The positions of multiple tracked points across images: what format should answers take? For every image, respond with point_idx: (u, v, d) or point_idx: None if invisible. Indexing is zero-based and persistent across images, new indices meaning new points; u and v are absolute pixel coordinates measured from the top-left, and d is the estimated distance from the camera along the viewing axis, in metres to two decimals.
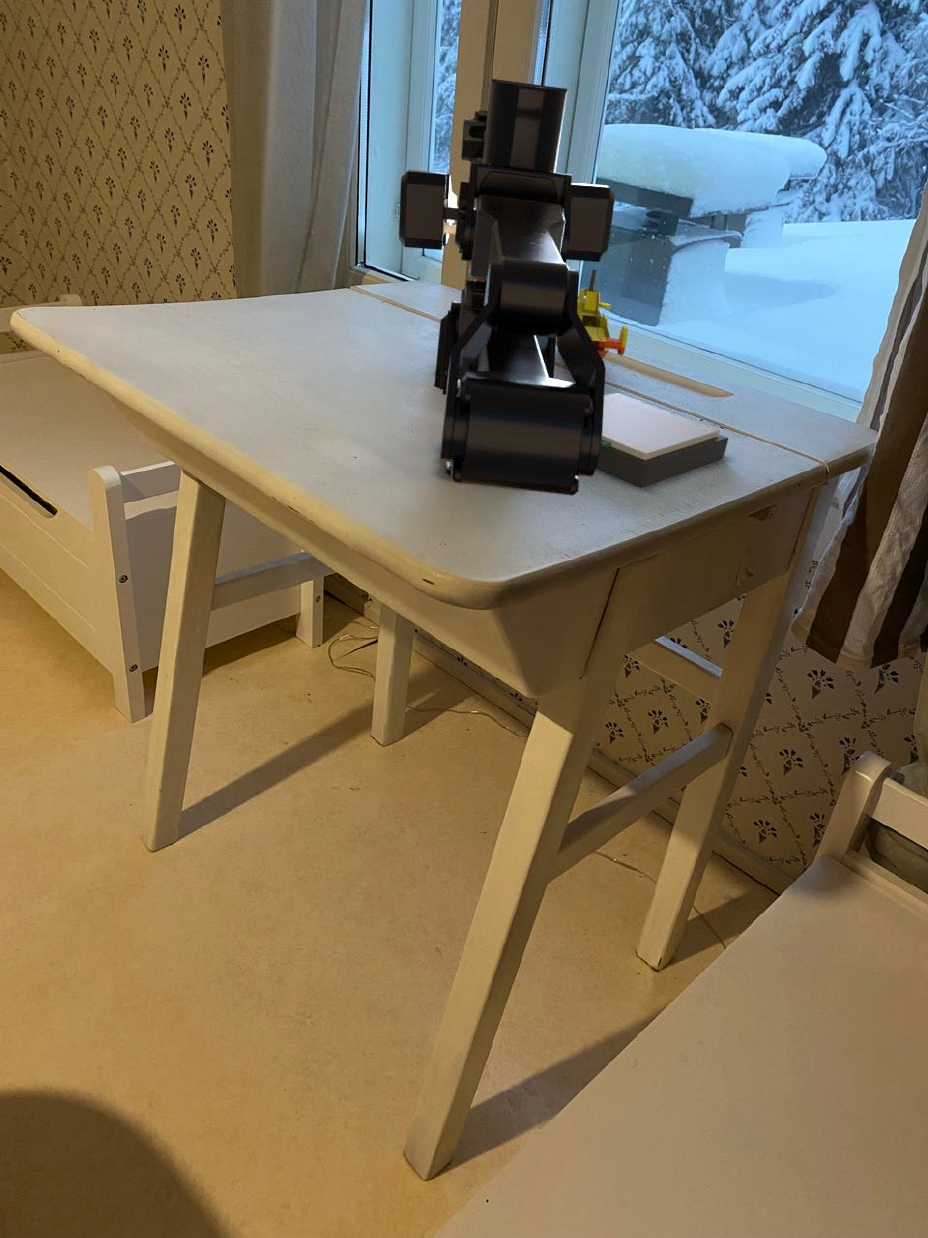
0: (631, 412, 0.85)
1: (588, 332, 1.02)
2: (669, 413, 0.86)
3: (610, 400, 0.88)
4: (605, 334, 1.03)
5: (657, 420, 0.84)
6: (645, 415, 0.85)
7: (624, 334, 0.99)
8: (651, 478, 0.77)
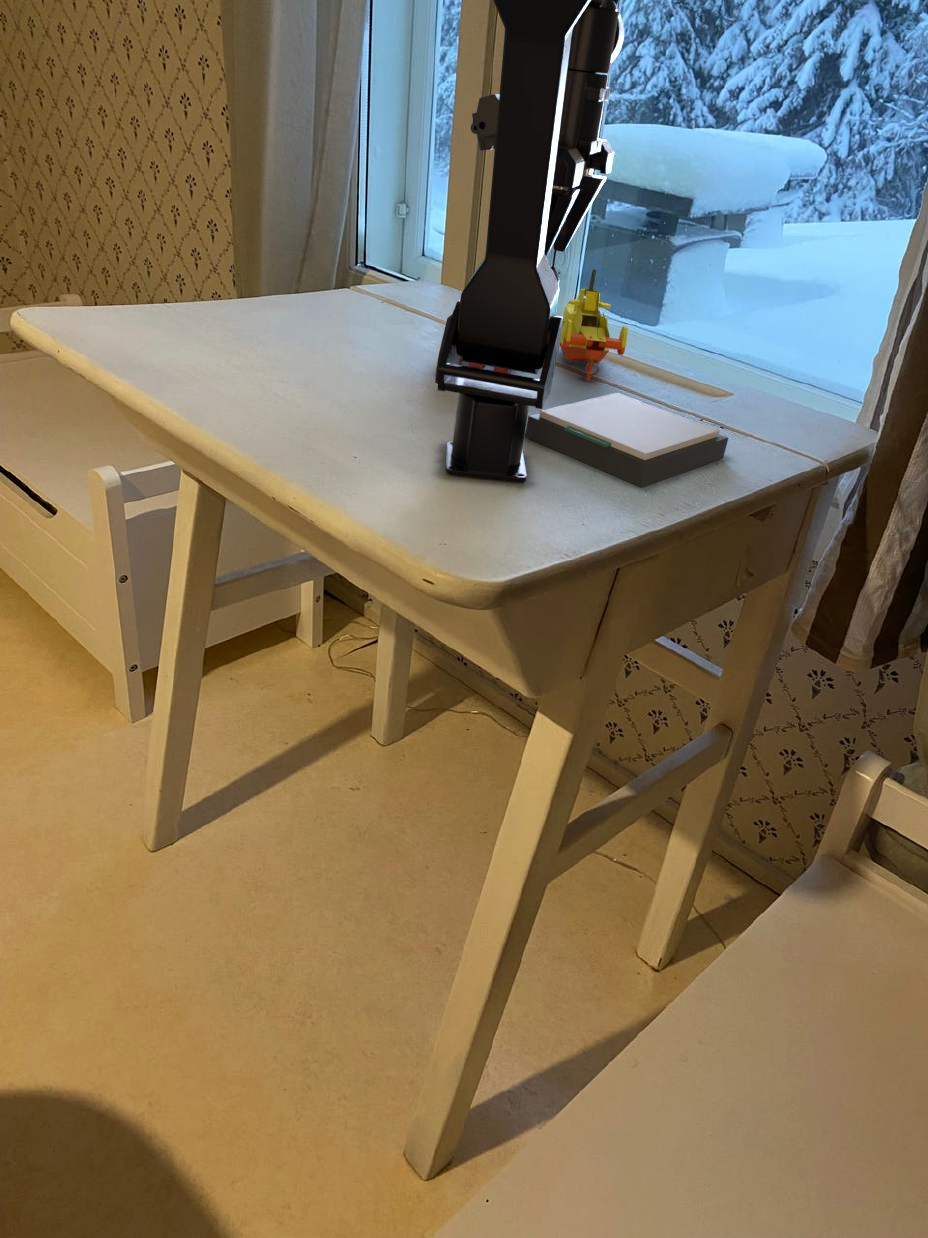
0: (631, 412, 0.85)
1: (588, 332, 1.02)
2: (669, 413, 0.86)
3: (610, 400, 0.88)
4: (605, 334, 1.03)
5: (657, 420, 0.84)
6: (645, 415, 0.85)
7: (624, 334, 0.99)
8: (651, 478, 0.77)
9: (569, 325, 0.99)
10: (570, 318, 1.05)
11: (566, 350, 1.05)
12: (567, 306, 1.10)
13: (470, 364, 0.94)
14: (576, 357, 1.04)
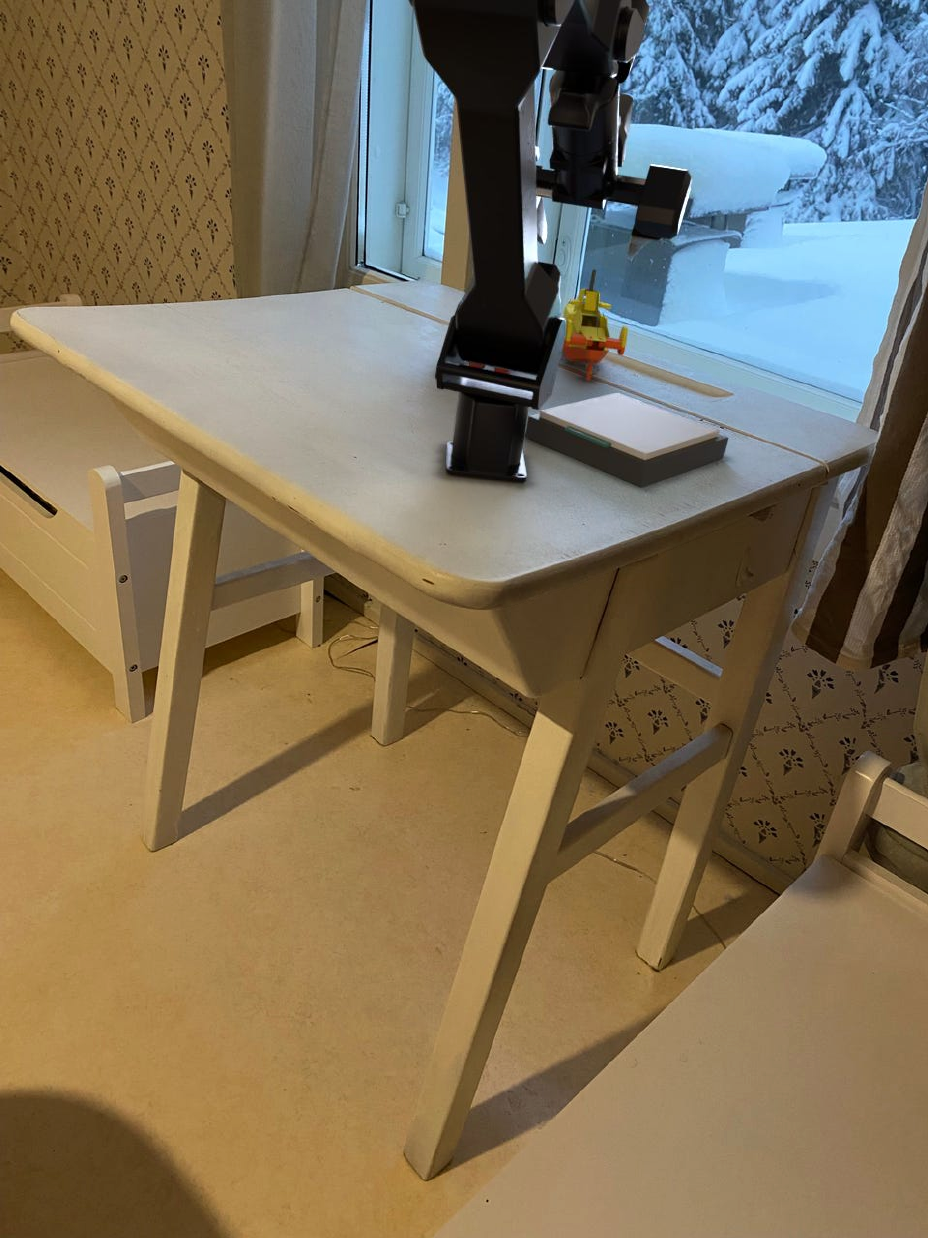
0: (631, 412, 0.85)
1: (588, 332, 1.02)
2: (669, 413, 0.86)
3: (610, 400, 0.88)
4: (605, 334, 1.03)
5: (657, 420, 0.84)
6: (645, 415, 0.85)
7: (624, 334, 0.99)
8: (651, 478, 0.77)
9: (569, 325, 0.99)
10: (570, 318, 1.05)
11: (566, 350, 1.05)
12: (567, 306, 1.10)
13: (470, 364, 0.94)
14: (576, 357, 1.04)
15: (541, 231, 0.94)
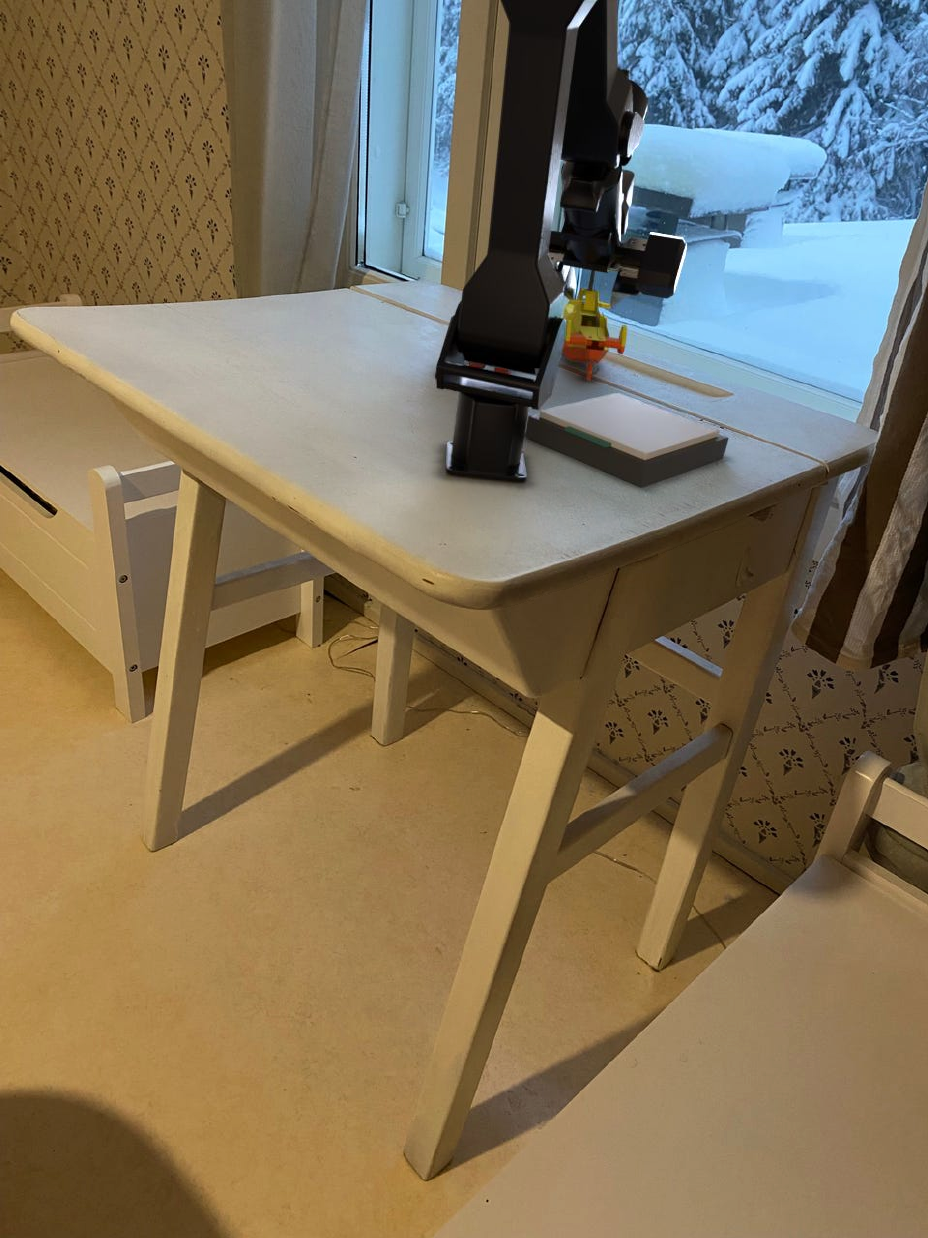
0: (631, 412, 0.85)
1: (588, 332, 1.02)
2: (669, 413, 0.86)
3: (610, 400, 0.88)
4: (605, 333, 1.03)
5: (657, 420, 0.84)
6: (645, 415, 0.85)
7: (624, 333, 0.99)
8: (651, 478, 0.77)
9: (568, 325, 0.99)
10: (570, 318, 1.05)
11: (566, 350, 1.05)
12: (567, 306, 1.10)
13: (470, 364, 0.94)
14: (576, 357, 1.04)
15: (571, 290, 1.04)
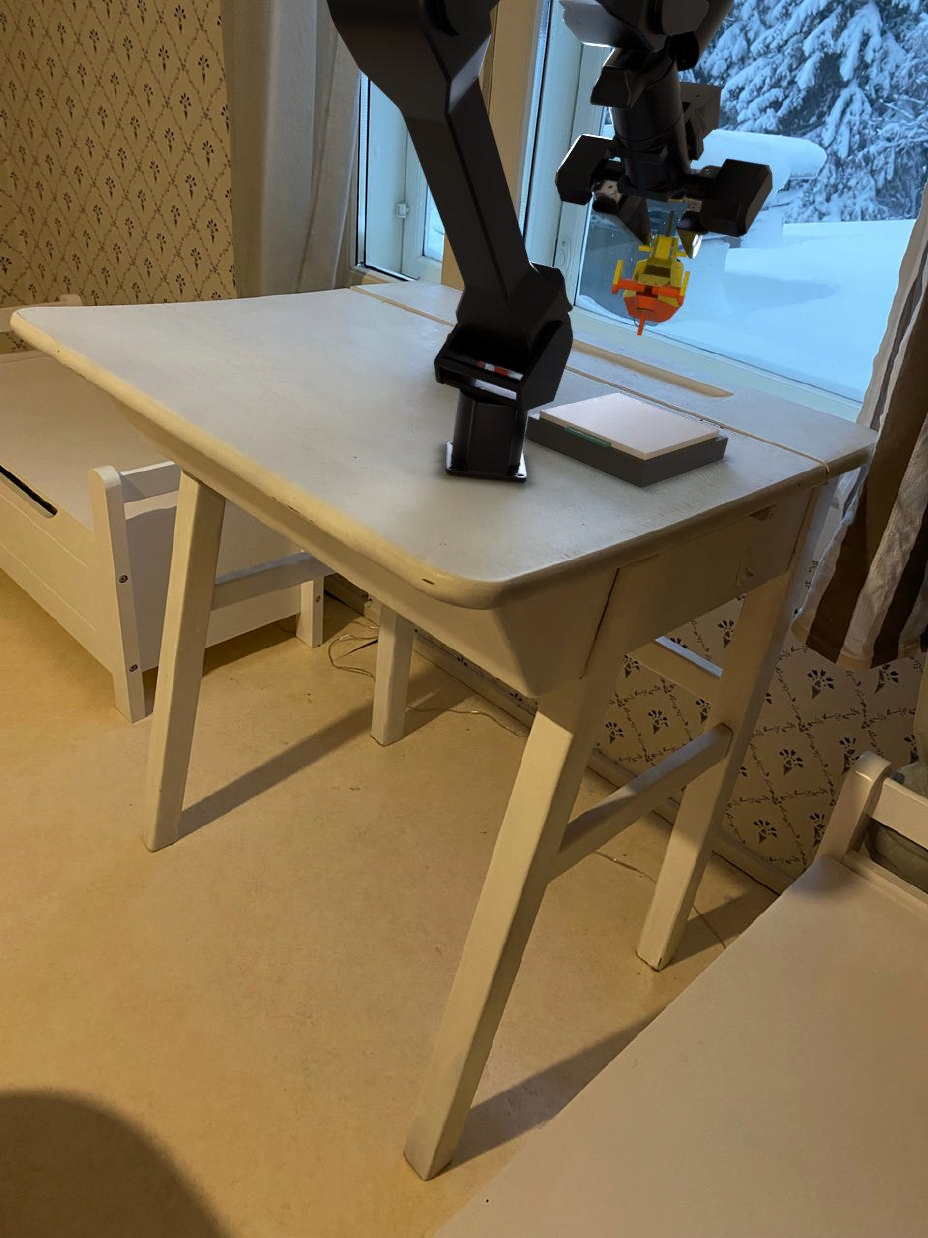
0: (631, 412, 0.85)
1: (647, 278, 0.85)
2: (669, 413, 0.86)
3: (610, 400, 0.88)
4: (671, 284, 0.86)
5: (657, 420, 0.84)
6: (645, 415, 0.85)
7: (684, 279, 0.82)
8: (651, 478, 0.77)
9: (618, 265, 0.83)
10: (636, 266, 0.89)
11: (626, 302, 0.89)
12: (646, 259, 0.94)
13: None
14: (633, 310, 0.88)
15: (642, 234, 0.89)
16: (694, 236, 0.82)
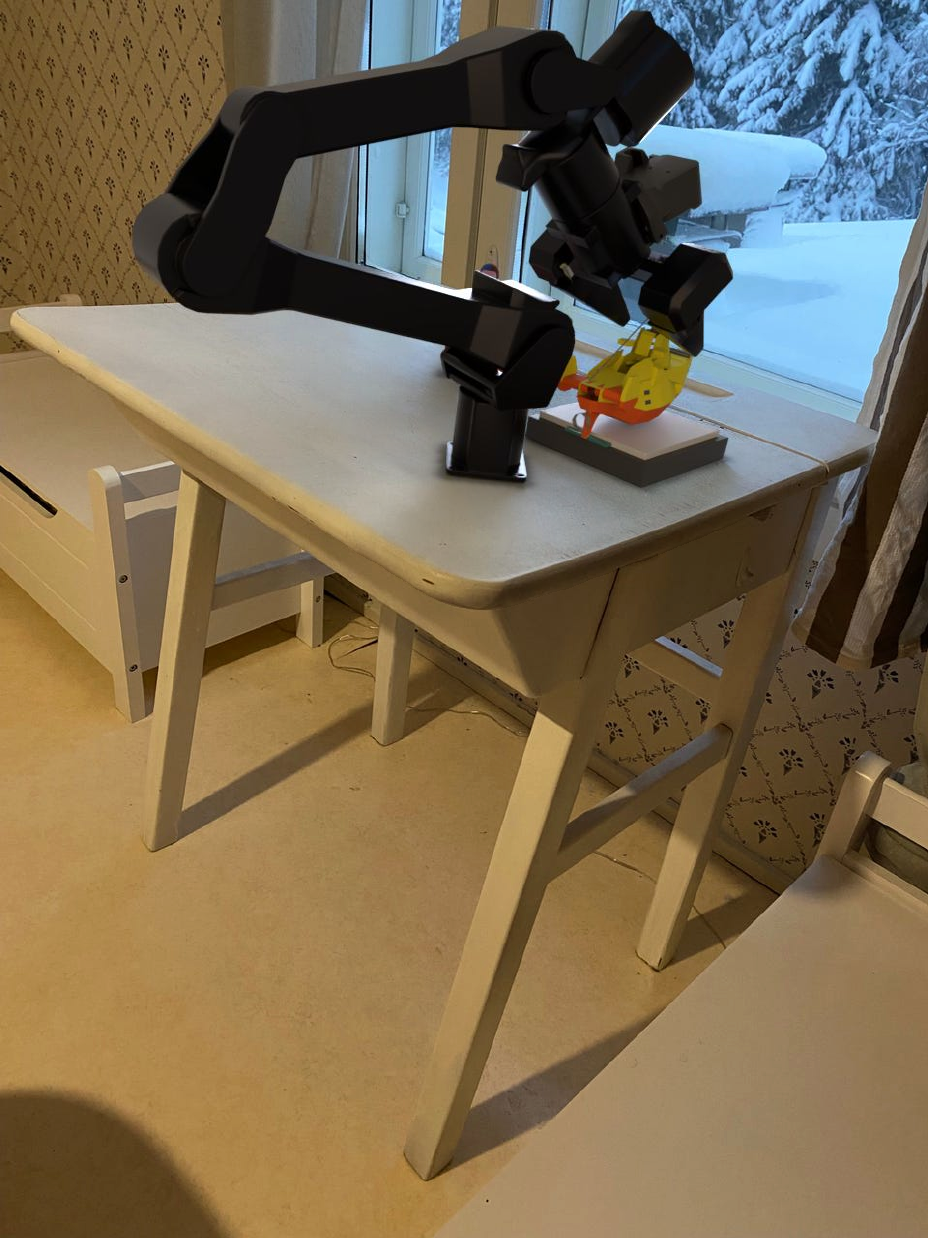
0: None
1: (603, 377, 0.77)
2: (669, 413, 0.86)
3: None
4: None
5: (657, 420, 0.84)
6: None
7: (626, 384, 0.74)
8: (651, 478, 0.77)
9: None
10: None
11: (594, 399, 0.81)
12: None
13: None
14: None
15: (611, 311, 0.82)
16: (668, 334, 0.71)
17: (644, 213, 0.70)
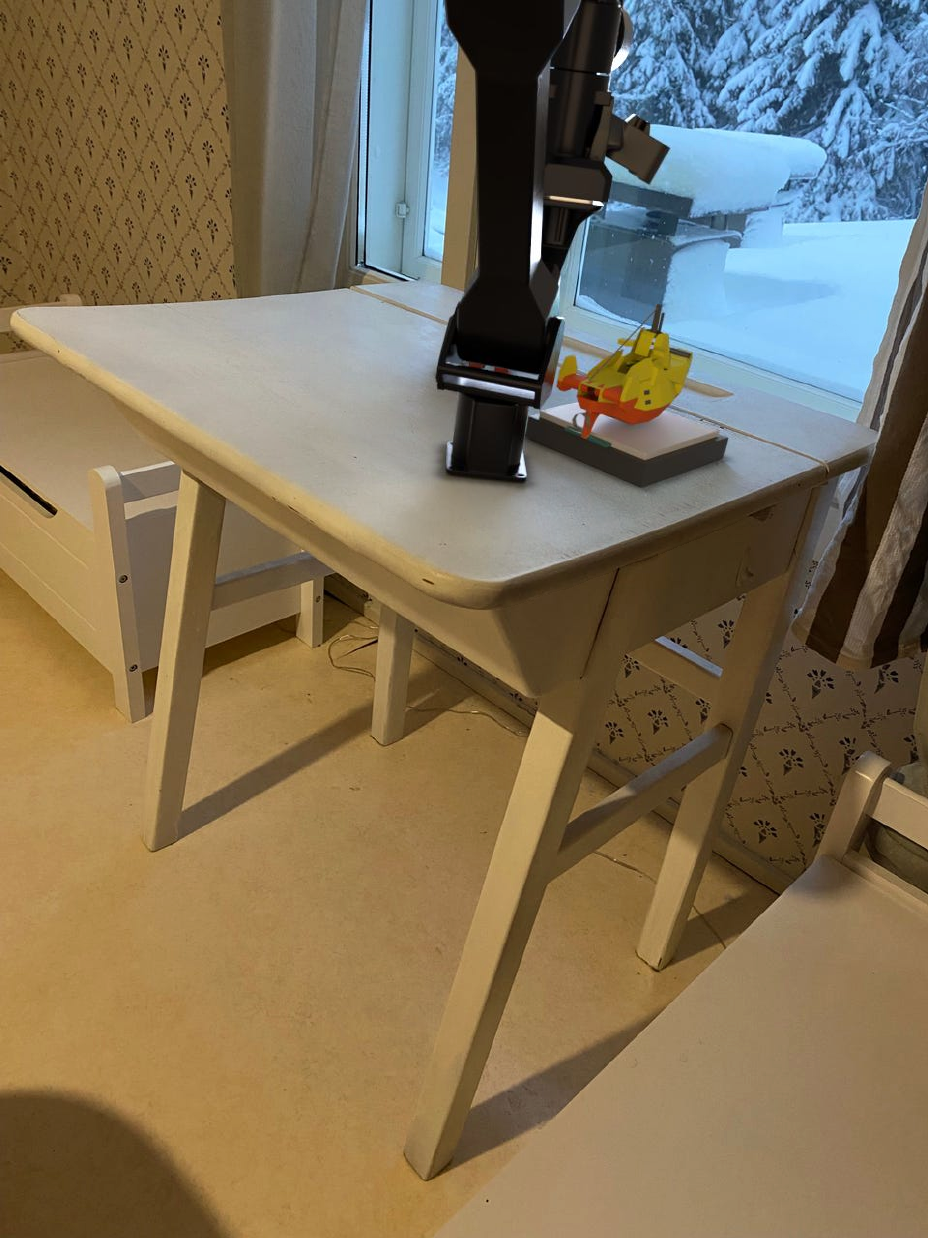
0: None
1: (603, 377, 0.77)
2: (669, 413, 0.86)
3: None
4: None
5: (657, 420, 0.84)
6: None
7: (626, 384, 0.74)
8: (651, 478, 0.77)
9: (565, 361, 0.76)
10: None
11: (594, 399, 0.81)
12: None
13: (470, 364, 0.94)
14: None
15: None
16: None
17: (598, 124, 0.74)
